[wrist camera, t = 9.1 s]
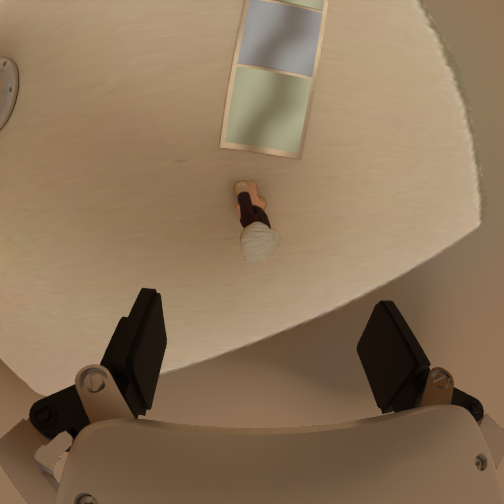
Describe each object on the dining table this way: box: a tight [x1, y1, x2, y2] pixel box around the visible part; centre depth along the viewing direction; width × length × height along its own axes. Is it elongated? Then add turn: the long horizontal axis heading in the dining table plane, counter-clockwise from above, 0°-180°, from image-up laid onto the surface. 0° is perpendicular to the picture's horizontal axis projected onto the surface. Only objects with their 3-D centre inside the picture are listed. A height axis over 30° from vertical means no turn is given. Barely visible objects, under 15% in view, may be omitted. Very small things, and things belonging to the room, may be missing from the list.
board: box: [220, 0, 328, 160], centre depth 22 cm, size 9×28×1 cm, turn 171°
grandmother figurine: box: [234, 181, 281, 263], centre depth 27 cm, size 8×4×13 cm, turn 36°
